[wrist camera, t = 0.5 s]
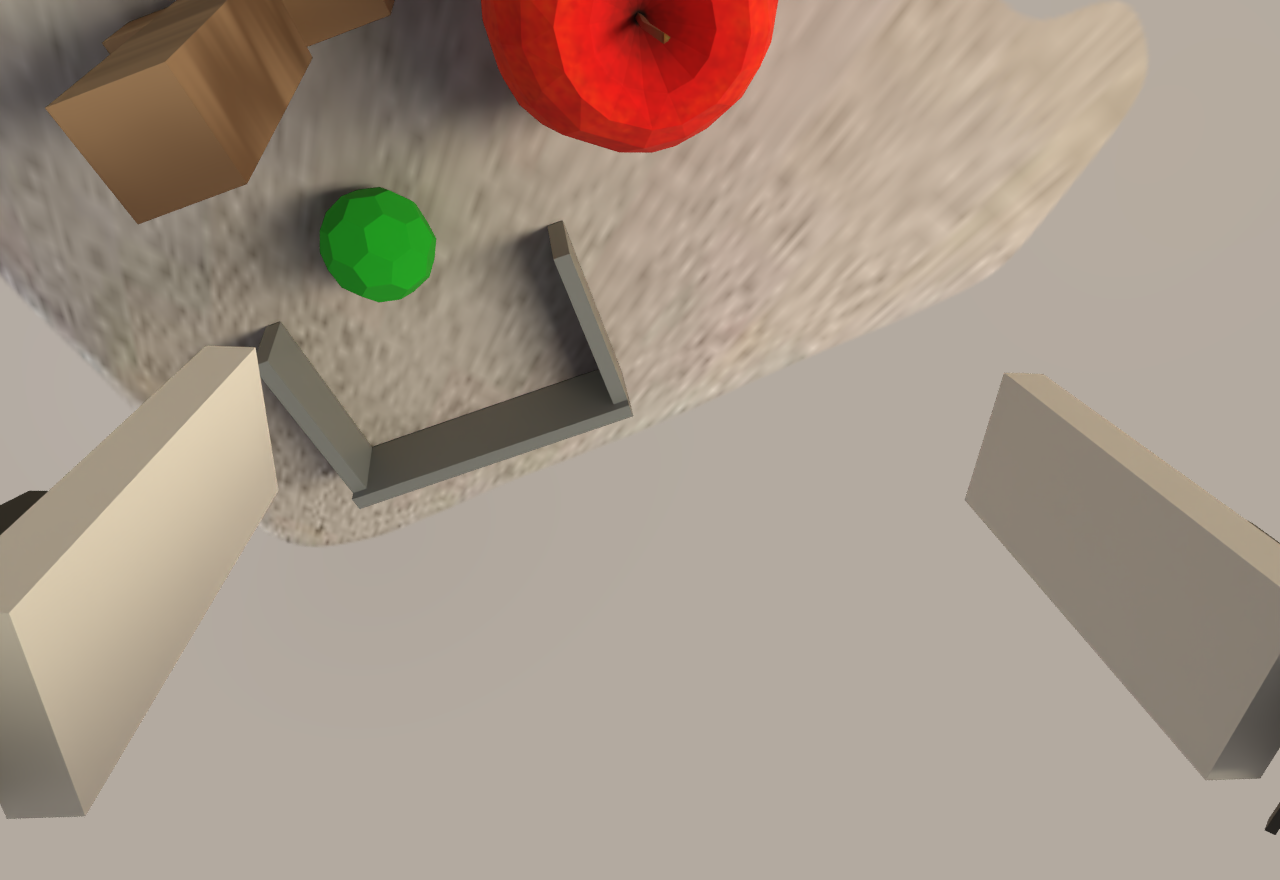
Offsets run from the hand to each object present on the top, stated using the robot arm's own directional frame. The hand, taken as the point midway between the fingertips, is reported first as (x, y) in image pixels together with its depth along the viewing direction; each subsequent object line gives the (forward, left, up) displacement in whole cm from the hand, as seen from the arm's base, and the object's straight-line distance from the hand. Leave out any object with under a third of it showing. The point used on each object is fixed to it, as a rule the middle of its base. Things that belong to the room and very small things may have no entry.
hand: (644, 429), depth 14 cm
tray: (+16, +1, -26) cm, 31 cm away
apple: (-4, +1, -26) cm, 27 cm away
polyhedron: (+10, -4, -26) cm, 29 cm away
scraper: (+3, -11, -26) cm, 28 cm away
